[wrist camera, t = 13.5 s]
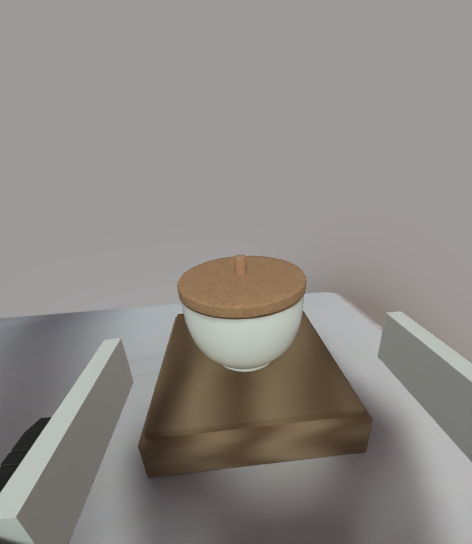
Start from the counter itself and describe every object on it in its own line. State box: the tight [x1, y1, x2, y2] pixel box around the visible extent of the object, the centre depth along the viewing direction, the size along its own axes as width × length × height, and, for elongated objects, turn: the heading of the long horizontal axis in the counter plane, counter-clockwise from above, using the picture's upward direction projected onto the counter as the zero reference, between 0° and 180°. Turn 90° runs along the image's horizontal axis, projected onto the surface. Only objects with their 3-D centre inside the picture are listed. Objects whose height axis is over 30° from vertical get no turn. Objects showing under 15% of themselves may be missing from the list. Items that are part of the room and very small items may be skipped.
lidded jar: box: [177, 255, 306, 372], centre depth 22 cm, size 11×11×9 cm
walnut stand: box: [138, 311, 372, 478], centre depth 25 cm, size 16×16×4 cm
